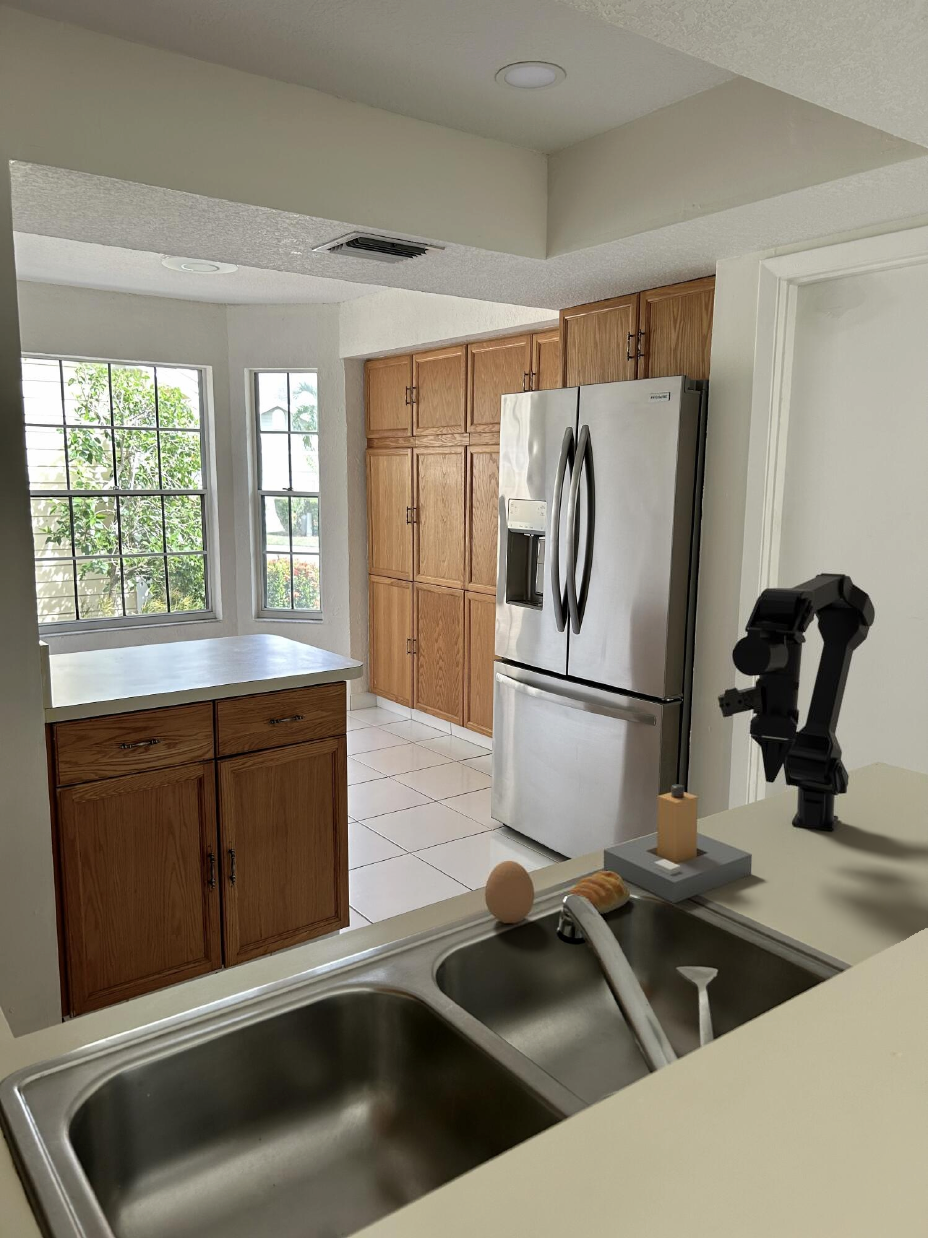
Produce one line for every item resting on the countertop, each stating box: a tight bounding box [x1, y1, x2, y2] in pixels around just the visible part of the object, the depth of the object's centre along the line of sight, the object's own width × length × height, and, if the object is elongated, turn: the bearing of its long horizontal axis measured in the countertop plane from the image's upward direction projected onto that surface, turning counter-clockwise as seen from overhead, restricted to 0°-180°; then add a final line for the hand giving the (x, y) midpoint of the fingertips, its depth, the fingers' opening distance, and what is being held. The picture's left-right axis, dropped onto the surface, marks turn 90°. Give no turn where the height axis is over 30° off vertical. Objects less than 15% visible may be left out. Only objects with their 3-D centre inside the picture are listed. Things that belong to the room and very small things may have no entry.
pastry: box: [568, 870, 631, 915], centre depth 124 cm, size 9×7×4 cm
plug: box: [656, 783, 698, 864], centre depth 133 cm, size 4×4×13 cm
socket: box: [603, 832, 753, 904], centre depth 133 cm, size 16×14×4 cm
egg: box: [484, 860, 535, 924], centre depth 119 cm, size 6×6×8 cm
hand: (771, 776), depth 137 cm, fingers open, 9 cm apart
